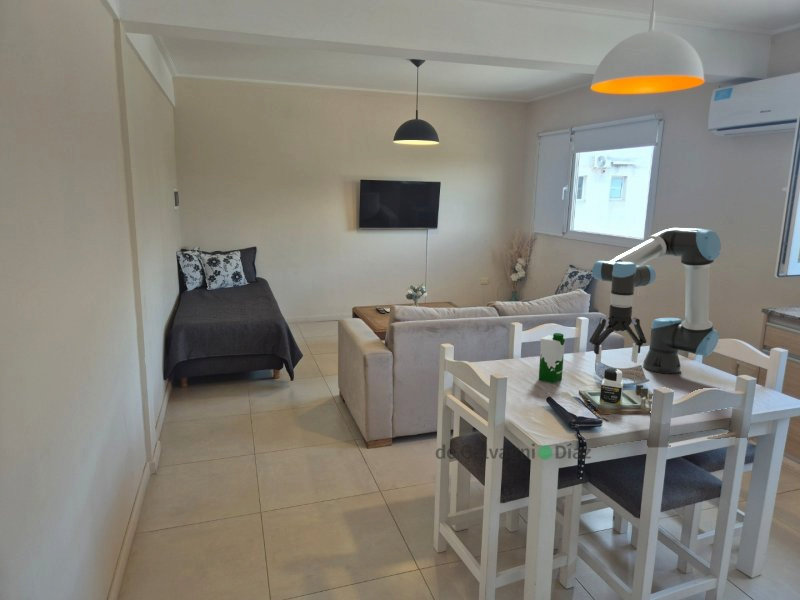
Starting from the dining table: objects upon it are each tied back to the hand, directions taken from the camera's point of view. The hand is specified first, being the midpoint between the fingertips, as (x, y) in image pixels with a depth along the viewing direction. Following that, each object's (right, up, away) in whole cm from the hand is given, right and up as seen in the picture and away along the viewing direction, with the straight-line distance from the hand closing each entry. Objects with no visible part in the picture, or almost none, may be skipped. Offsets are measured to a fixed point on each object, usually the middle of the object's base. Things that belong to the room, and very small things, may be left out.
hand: (616, 362), depth 198 cm
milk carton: (-16, -11, +29) cm, 35 cm away
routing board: (+5, -16, +4) cm, 17 cm away
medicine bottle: (-1, -15, +3) cm, 15 cm away
